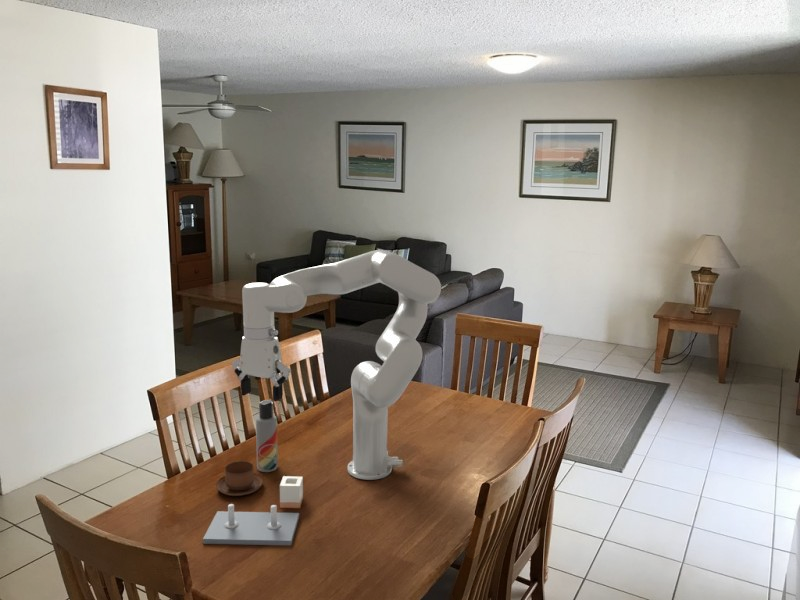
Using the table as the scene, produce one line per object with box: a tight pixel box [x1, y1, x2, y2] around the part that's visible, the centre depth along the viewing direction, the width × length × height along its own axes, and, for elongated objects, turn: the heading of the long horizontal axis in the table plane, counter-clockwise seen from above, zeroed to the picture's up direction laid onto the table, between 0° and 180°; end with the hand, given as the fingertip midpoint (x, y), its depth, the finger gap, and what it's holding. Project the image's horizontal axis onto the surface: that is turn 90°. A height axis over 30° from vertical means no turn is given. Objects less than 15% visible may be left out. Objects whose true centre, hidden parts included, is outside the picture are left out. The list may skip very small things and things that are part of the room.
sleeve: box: [279, 475, 304, 509], centre depth 168 cm, size 5×5×6 cm
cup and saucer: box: [216, 460, 264, 497], centre depth 174 cm, size 12×12×6 cm
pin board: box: [202, 503, 300, 546], centre depth 155 cm, size 20×12×6 cm, turn 90°
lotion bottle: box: [255, 399, 278, 473], centre depth 185 cm, size 6×6×20 cm
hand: (261, 396), depth 169 cm, fingers open, 9 cm apart
